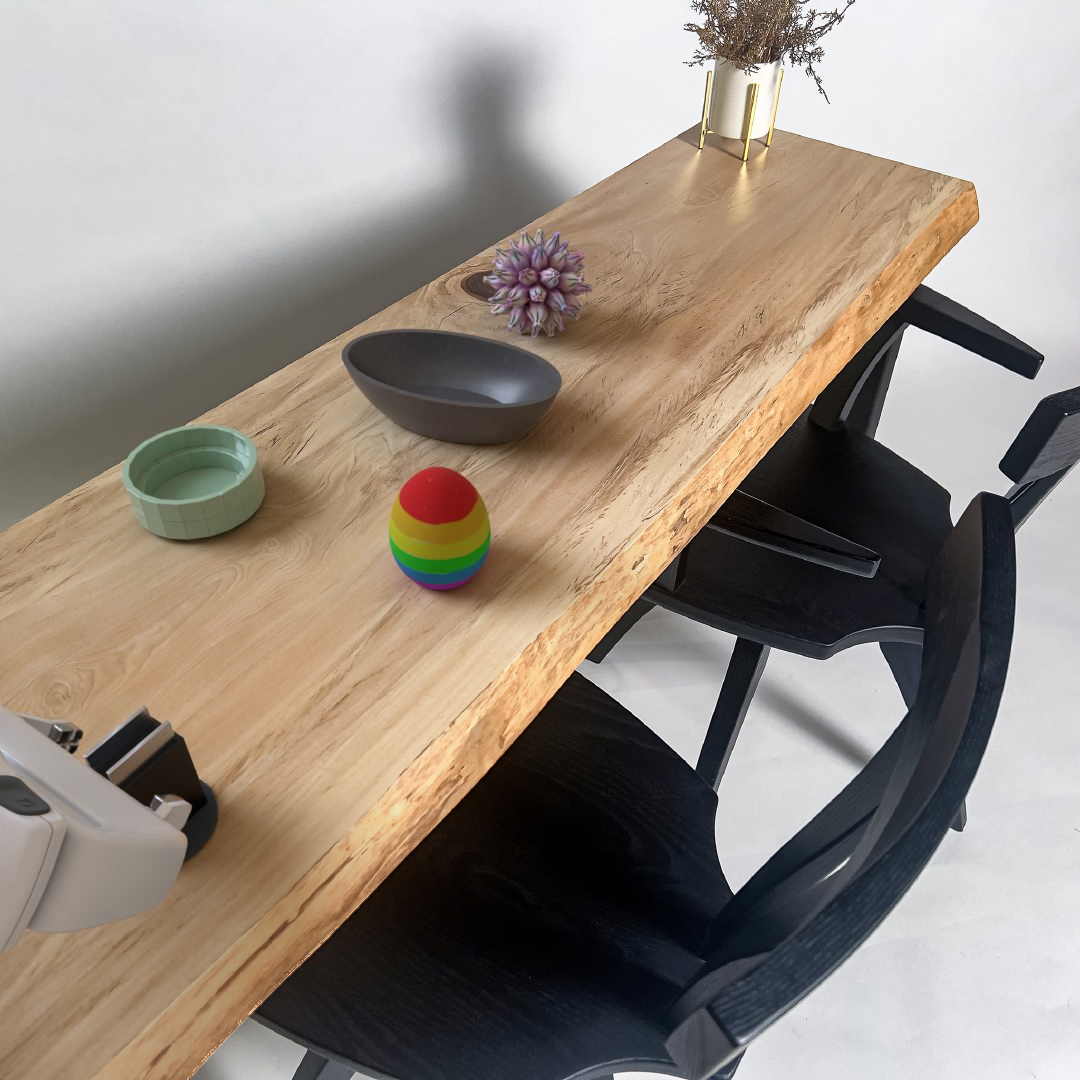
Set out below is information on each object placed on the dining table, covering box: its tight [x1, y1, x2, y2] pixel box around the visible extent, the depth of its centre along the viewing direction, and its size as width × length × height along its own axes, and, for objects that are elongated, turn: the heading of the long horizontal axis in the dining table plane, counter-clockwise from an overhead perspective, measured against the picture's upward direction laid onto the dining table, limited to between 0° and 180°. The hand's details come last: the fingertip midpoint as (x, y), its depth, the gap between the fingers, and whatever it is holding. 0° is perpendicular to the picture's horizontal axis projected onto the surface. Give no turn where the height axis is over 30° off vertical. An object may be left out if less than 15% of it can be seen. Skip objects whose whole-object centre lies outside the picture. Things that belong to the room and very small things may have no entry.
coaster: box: [180, 778, 219, 864], centre depth 62 cm, size 7×7×1 cm
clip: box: [82, 704, 208, 822], centre depth 59 cm, size 5×3×9 cm, turn 147°
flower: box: [482, 228, 593, 340], centre depth 106 cm, size 12×12×12 cm
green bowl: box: [121, 423, 266, 540], centre depth 85 cm, size 11×11×4 cm
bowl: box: [341, 328, 563, 446], centre depth 94 cm, size 12×22×6 cm, turn 71°
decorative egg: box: [388, 466, 492, 591], centre depth 77 cm, size 8×8×10 cm
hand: (124, 772), depth 58 cm, fingers open, 8 cm apart
